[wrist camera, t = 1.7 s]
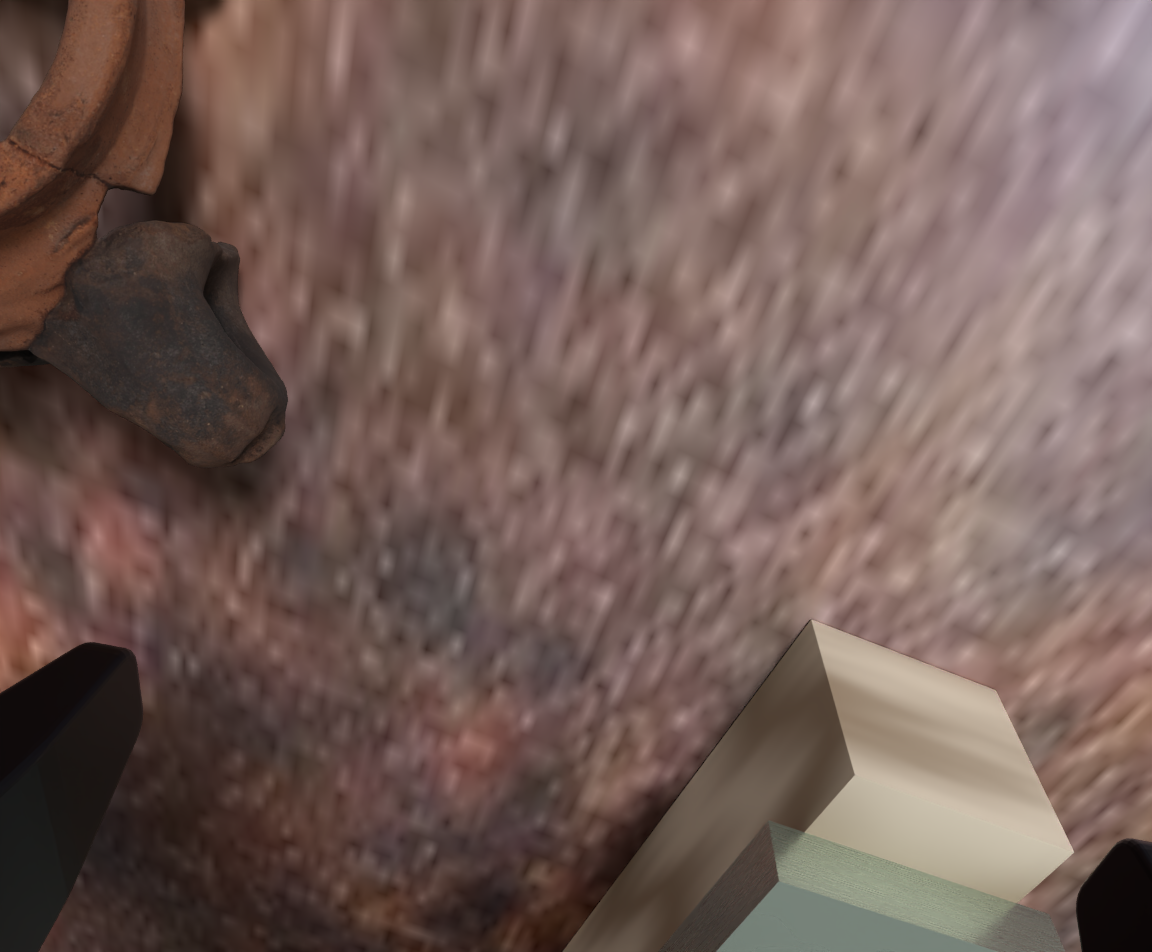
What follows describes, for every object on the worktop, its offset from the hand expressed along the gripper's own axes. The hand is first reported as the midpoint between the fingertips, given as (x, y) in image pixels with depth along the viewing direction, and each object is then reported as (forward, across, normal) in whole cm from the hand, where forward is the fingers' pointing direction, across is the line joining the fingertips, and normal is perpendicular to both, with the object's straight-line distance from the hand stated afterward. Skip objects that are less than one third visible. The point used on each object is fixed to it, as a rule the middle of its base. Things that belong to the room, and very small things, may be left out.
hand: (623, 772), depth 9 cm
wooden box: (+12, -6, +18) cm, 23 cm away
